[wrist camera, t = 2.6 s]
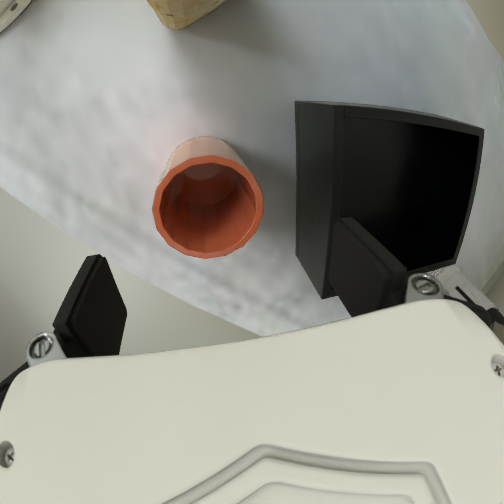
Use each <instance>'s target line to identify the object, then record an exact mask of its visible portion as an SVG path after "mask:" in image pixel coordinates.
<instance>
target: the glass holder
mask: <svg viewBox="0 0 504 504" xmlns="http://www.w3.org/2000/svg"><path fill="white" fill-rule="evenodd" d="M436 279H437V280H439V281H440V283H441V284H442V286H443V293H444V295H448V296H451V297H454V298H457V299H461V300H464V301H467V302H470V303H474V304H477V305H480V306H482V307H484V308H485V309H486V311H487V312H488V313H489V315H490V316H491V320H492V323H493V324H494V322H495V321H496V322H498V323H500V324H502V325H503V326H504V317H503V316H502V314H501V313H500V312H499V310H498V308H497V307H496V306H495V305H494V304H493V303H492V302H491V301H490V300H489V299H488V298H487V297H486V296H485V295H484V294H483V293H482V292H481V291H480V290H479V289H478V288H477V287H476V286H475V285H474V284H473V283H472V282H471V281H470V280H469V279H468V278H467V277H466V276H465V275H464V274H463V273H462V271H461V269H460V267H459V266H458V265H451V266H449V267H447V268H446V269H444V270H443V271H442V272H441V273H440V274H439V275H438V276H437V277H436Z"/></svg>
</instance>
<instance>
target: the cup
mask: <svg viewBox="0 0 504 504" xmlns="http://www.w3.org/2000/svg"><path fill="white" fill-rule="evenodd" d="M152 212H153V216H154V220H155V225H156V228H157V230H158V232H159V233H160V234H161V236H162V237H163V238H164V240H165V241H166V242H167V244H168V245H169V246H171V247H173V248H174V249H176V250H178V251H180V252H181V253H183V254H185V255H188V256H193V257H198V258H204V259H205V258H206V259H207V258H213V257H220V256H225V255H227V254H229V253H231V252H233V251H235V250H237V249H239V248H241V247H242V246H244V245H245V243H246V242H247V241H248V240H249V239H250V238H251V237H252V236H253V235H254V233H255V232H256V231H257V228H258V226H259V223H260V220H261V218H262V215H263V195H262V191H261V189H260V187H259V185H258V183H257V181H256V179H255V177H254V175H253V174H252V173H251V171H250V170H249V169H248V167H247V166H246V164H245V163H244V162H243V160H242V159H241V158H240V156H239V155H238V154H237V152H236V151H235V150H234V149H233V148H232V147H231V146H230V145H228V144H227V143H226V142H224V141H222V140H220V139H218V138H215V137H210V136H199V137H194V138H192V139H189V140H187V141H185V142H183V143H182V144H181V145H179V146H178V147H177V148H176V149H175V151H174V152H173V153H172V155H171V156H170V158H169V159H168V162H167V164H166V166H165V169H164V171H163V173H162V176H161V178H160V181H159V183H158V185H157V188H156V191H155V196H154V201H153V206H152Z"/></svg>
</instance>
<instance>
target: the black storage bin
mask: <svg viewBox="0 0 504 504" xmlns="http://www.w3.org/2000/svg"><path fill="white" fill-rule="evenodd" d="M295 123H296V176H297V209H296V256H297V258H298V260H299V261H300V263H301V265H302V266H303V268H304V270H305V271H306V273H307V275H308V277H309V278H310V280H311V282H312V283H313V285H314V287H315V289H316V290H317V292H318V294H319V295H320V297H321V299H326V298H330V297H334V296H338V295H337V293H336V292H335V290H334V289H333V287H332V286H331V284H330V281H329V269H330V259H331V249H332V238H333V226H334V223H336V222H337V221H338V219H340V218H349V217H352V218H353V219H355V220H356V221H357V222H358V223H359V224H360V225H361V226H362V227H364V228H365V229H366V230H367V231H368V232H369V233H370V234H371V235H372V236H373V237H375V238H376V239H377V240H378V241H379V242H380V243H381V244H382V245H383V246H384V247H385V248H386V249H387V250H388V251H389V252H390V253H391V254H393V255H394V256H395V257H396V258H397V259H398V260H399V261H400V262H401V263H402V264H403V265H404V266H405V267H406V268H407V272H406V275H407V276H408V277H410V276H411V275H412V274H415V273H426V272H430V271H433V270H436V269H439V268H443V267H446V266H449V265H453V264H455V263H456V260H457V257H458V254H459V251H460V248H461V245H462V242H463V238H464V235H465V232H466V228H467V224H468V221H469V217H470V213H471V209H472V205H473V200H474V196H475V191H476V186H477V181H478V175H479V170H480V163H481V156H482V149H483V140H484V129H482V128H479V127H476V126H473V125H470V124H467V123H464V122H460V121H457V120H453V119H450V118H446V117H442V116H438V115H434V114H429V113H424V112H418V111H413V110H407V109H400V108H393V107H386V106H378V105H368V104H358V103H344V102H325V101H295Z"/></svg>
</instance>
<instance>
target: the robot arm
mask: <svg viewBox="0 0 504 504" xmlns="http://www.w3.org/2000/svg"><path fill="white" fill-rule="evenodd" d="M31 1H32V0H0V32H1V31H3V30H4V29H5V28H6V27H7V26H8V25H10V24H11V23H12V22H13V21H14V20H15V19H16V18H17V17H18V16H19V15H20V13H21V12H22V11H23V10H24V9H25V8H26V7H27V6H28V4H29V3H30V2H31ZM406 272H407V268H406V267H405V266H404V265H403V264H402V263H401V262H400V261H399V260H398V259H397V258H396V257H395V256H394V255H393V254H391V253H390V252H389V251H388V250H387V249H386V248H385V247H384V246H383V245H382V244H381V243H380V242H379V241H378V240H377V239H376V238H375V237H373V236H372V235H371V234H370V233H369V232H368V231H367V230H366V229H365V228H364V227H362V226H361V225H360V224H359V223H358V222H357V221H356V220H355V219H353V218H352V217H349V218H340V219H338V221H337V222H336V223H334V226H333V238H332V249H331V259H330V269H329V281H330V284H331V286H332V287H333V289H334V290H335V292H336V293H337V295H338V296H339V298H340V300H341V301H342V303H343V304H344V306H345V307H346V309H347V311H348V312H349V314H350V315H351V318H347V319H343V320H339V321H335V322H331V323H327V324H323V325H318V326H314V327H309V328H305V329H300V330H296V331H291V332H286V333H281V334H276V335H271V336H266V337H261V338H255V339H249V340H244V341H238V342H231V343H225V344H218V345H211V346H205V347H197V348H189V349H180V350H172V351H161V352H152V353H141V354H128V355H119V352H120V346H121V341H122V336H123V332H124V326H125V322H126V318H127V310H126V307H125V305H124V302H123V300H122V297H121V295H120V293H119V290H118V288H117V285H116V283H115V280H114V278H113V275H112V273H111V270H110V268H109V265H108V262H107V259H106V258H105V257H102V256H101V255H100V254H98V255H93V256H87V257H86V259H85V261H84V262H83V264H82V266H81V268H80V270H79V271H78V274H77V275H76V277H75V279H74V281H73V283H72V285H71V287H70V289H69V290H68V292H67V294H66V297H65V299H64V301H63V303H62V305H61V307H60V309H59V311H58V313H57V315H56V318H55V320H54V322H53V327H54V328H55V330H54V332H53V333H52V332H42V333H40V334H37V335H36V336H35V337H34V338H32V339H31V341H30V342H29V344H28V345H27V347H26V358H27V362H26V363H25V364H23V365H22V366H21V367H20V368H18V369H17V370H16V371H14V372H13V373H12V374H11V375H9V376H8V377H7V378H6V379H4V380H3V381H2V382H1V383H0V504H504V326H503V325H502V324H500V323H498V322H496V321H495V322H494V324H493V323H492V320H491V316H490V315H489V313H488V312H487V311H486V309H485V308H484V307H482V306H480V305H477V304H474V303H470V302H467V301H464V300H461V299H457V298H454V297H451V296H448V295H444V293H443V286H442V284H441V283H440V281H439V280H437V279H436V278H435V277H433V276H431V275H429V274H426V273H415V274H412V275H411V276H410V277H408V276H407V275H406Z"/></svg>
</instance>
